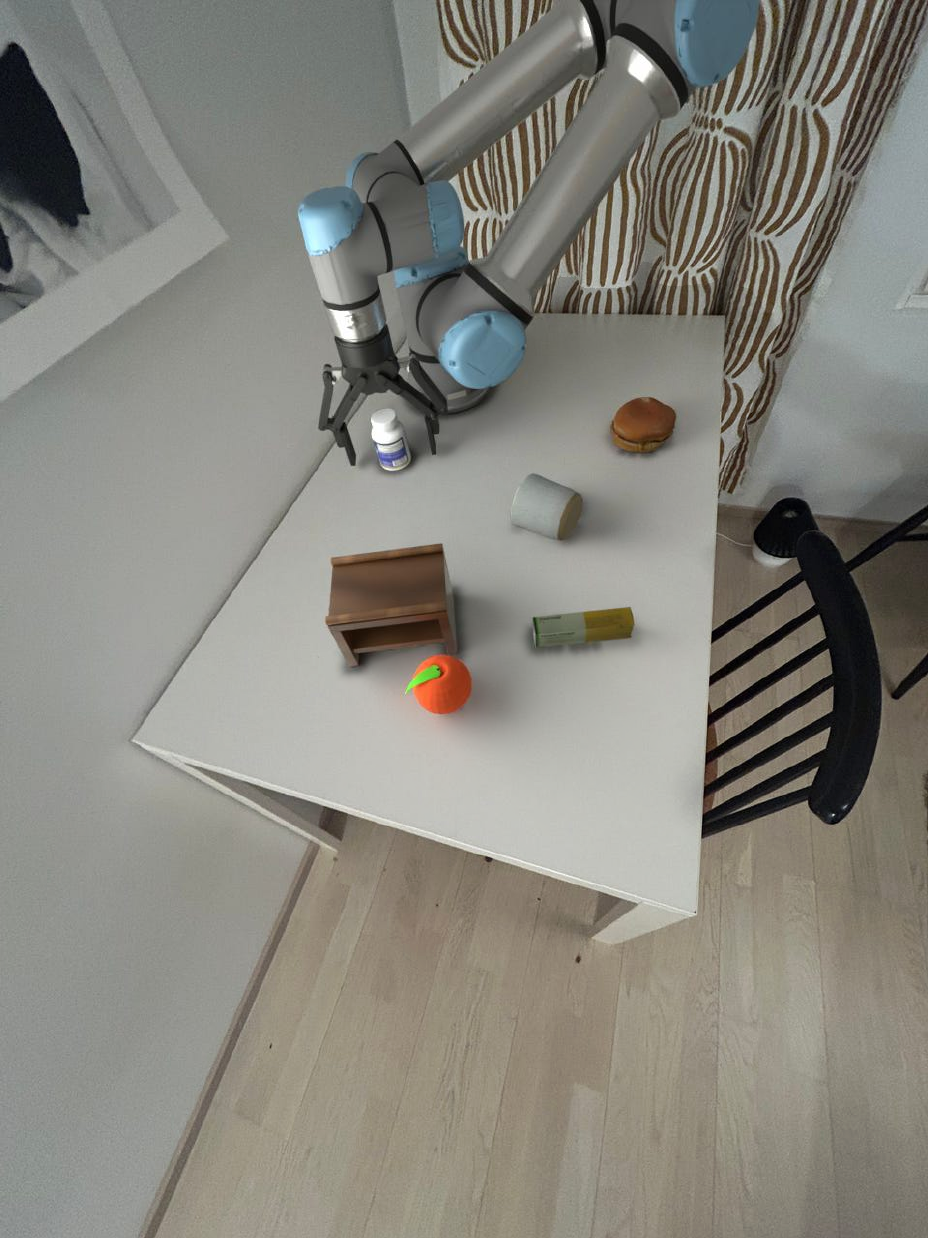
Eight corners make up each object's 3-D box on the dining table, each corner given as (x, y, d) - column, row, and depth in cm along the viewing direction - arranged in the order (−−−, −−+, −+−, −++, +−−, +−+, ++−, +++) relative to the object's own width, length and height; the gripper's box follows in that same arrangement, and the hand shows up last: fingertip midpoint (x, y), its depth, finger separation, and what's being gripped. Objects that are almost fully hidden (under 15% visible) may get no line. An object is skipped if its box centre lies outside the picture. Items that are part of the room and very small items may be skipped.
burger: (621, 460, 91) (625, 435, 87) (602, 424, 96) (605, 399, 93) (683, 446, 91) (689, 421, 87) (661, 412, 96) (665, 386, 93)
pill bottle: (384, 450, 99) (371, 405, 92) (414, 450, 98) (403, 404, 91) (377, 471, 96) (363, 426, 89) (408, 472, 95) (396, 426, 88)
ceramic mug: (561, 553, 81) (563, 513, 75) (510, 534, 85) (507, 494, 78) (594, 505, 86) (598, 464, 80) (544, 489, 89) (544, 448, 83)
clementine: (422, 737, 68) (410, 710, 62) (402, 690, 72) (389, 661, 66) (484, 709, 69) (478, 680, 63) (461, 664, 73) (453, 633, 67)
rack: (352, 604, 81) (330, 556, 72) (452, 592, 80) (441, 541, 72) (349, 666, 75) (324, 621, 67) (457, 653, 74) (445, 606, 66)
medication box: (534, 650, 73) (533, 635, 70) (532, 631, 75) (530, 615, 71) (632, 639, 72) (635, 624, 69) (627, 620, 73) (631, 604, 70)
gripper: (267, 357, 77) (318, 480, 95) (452, 329, 76) (469, 459, 93) (274, 327, 82) (321, 450, 99) (449, 301, 80) (466, 430, 98)
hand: (393, 455), depth 96 cm, fingers open, 13 cm apart
